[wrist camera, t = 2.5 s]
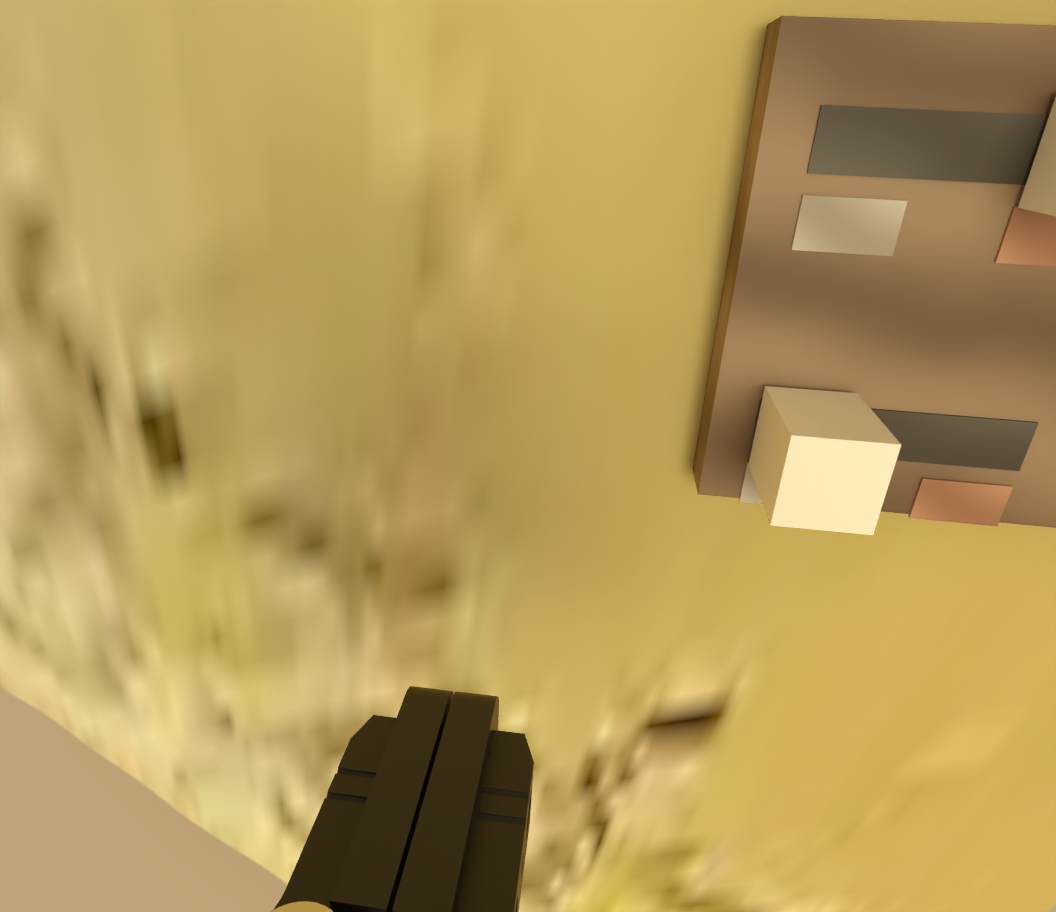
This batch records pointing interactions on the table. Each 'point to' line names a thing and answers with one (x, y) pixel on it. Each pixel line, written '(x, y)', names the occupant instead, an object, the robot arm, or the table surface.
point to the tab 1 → (821, 460)
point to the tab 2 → (1043, 173)
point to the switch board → (898, 260)
